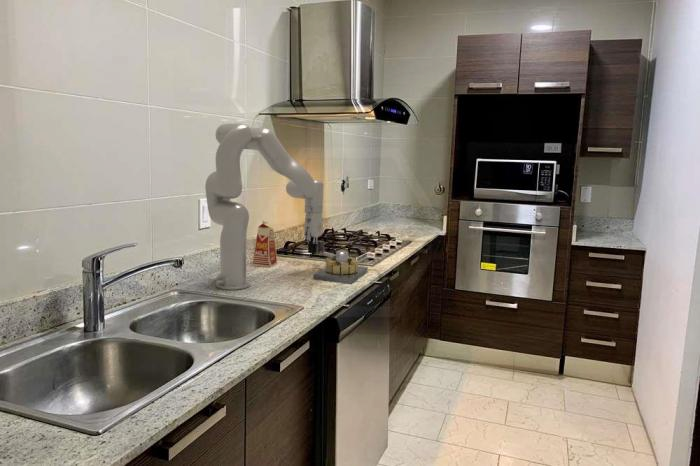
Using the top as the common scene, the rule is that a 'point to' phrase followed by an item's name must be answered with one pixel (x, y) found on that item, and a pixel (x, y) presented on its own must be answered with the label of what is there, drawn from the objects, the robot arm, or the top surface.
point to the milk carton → (265, 247)
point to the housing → (340, 278)
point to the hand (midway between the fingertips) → (312, 252)
